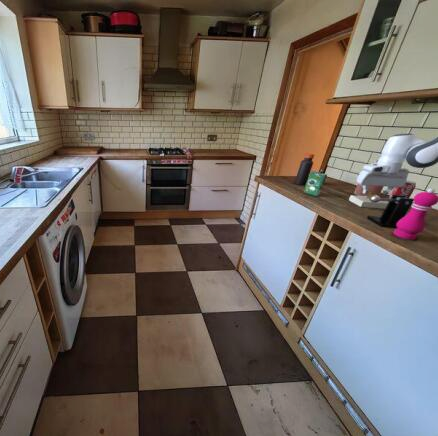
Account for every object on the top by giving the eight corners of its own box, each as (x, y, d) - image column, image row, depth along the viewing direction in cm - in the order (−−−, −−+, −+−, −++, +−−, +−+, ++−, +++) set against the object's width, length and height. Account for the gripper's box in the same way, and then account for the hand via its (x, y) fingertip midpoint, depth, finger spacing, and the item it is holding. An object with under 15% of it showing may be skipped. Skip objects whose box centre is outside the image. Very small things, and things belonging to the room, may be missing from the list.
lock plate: (376, 202, 126) (378, 196, 125) (390, 209, 117) (393, 203, 116) (348, 200, 128) (350, 194, 127) (360, 206, 119) (363, 201, 118)
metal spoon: (372, 203, 98) (375, 196, 96) (366, 200, 100) (370, 193, 99) (406, 205, 96) (410, 198, 94) (399, 203, 99) (403, 196, 97)
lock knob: (366, 197, 124) (369, 190, 122) (369, 197, 124) (372, 191, 122) (372, 200, 119) (376, 194, 118) (376, 200, 119) (379, 194, 117)
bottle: (292, 182, 158) (301, 153, 149) (301, 182, 158) (310, 153, 150) (299, 185, 152) (309, 155, 143) (308, 185, 152) (318, 155, 144)
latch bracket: (381, 226, 98) (396, 199, 93) (366, 218, 106) (379, 192, 101) (412, 229, 97) (429, 201, 91) (395, 220, 105) (410, 194, 99)
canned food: (382, 199, 131) (392, 179, 126) (358, 196, 134) (367, 176, 129) (372, 193, 141) (381, 174, 135) (350, 190, 144) (358, 172, 139)
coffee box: (319, 196, 133) (327, 174, 127) (316, 196, 132) (324, 174, 126) (305, 192, 140) (313, 170, 134) (302, 192, 138) (310, 171, 133)
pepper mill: (386, 231, 95) (412, 185, 86) (404, 232, 94) (431, 185, 86) (403, 240, 88) (433, 191, 79) (422, 241, 88) (454, 192, 79)
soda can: (393, 206, 121) (405, 183, 115) (382, 201, 127) (394, 179, 122) (408, 207, 120) (421, 184, 114) (397, 202, 126) (409, 180, 121)
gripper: (405, 167, 115) (392, 193, 121) (360, 165, 118) (349, 190, 124) (416, 170, 110) (402, 197, 115) (369, 168, 112) (357, 194, 118)
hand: (374, 193), depth 120 cm, fingers open, 8 cm apart
